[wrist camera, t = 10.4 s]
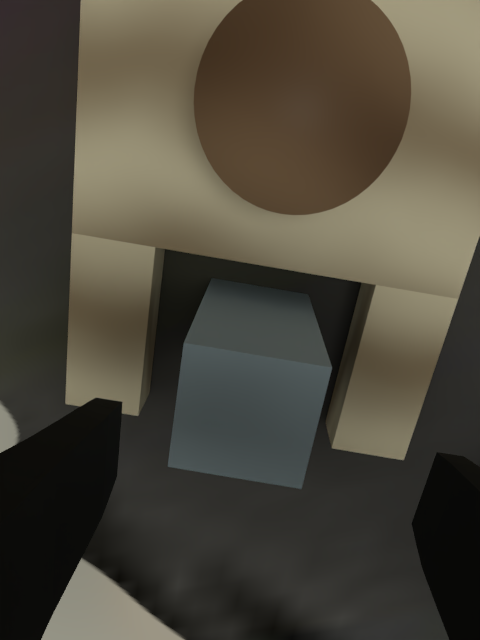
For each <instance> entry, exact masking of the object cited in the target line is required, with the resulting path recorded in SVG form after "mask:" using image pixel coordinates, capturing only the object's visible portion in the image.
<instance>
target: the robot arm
mask: <svg viewBox="0 0 480 640" xmlns="http://www.w3.org/2000/svg"><path fill="white" fill-rule="evenodd" d="M121 415H122V402H121V401H114V400H108V399H102V398H94V399H92V400H91V401H89V402H87V403H86V404H84V405H82V406H81V407H79V408H77V409H76V410H74V411H73V412H71V413H69V414H68V415H66V416H65V417H63V418H61V419H60V420H58V421H56V422H55V423H53V424H51V425H50V426H48V427H46V428H45V429H43V430H41V431H40V432H38V433H36V434H35V435H33V436H31V437H29V438H28V439H26V440H24V441H22V442H20V443H18V444H16V445H15V446H13V447H11V448H9V449H7V450H5V451H3V452H1V453H0V640H41V638H42V636H43V634H44V631H45V629H46V627H47V625H48V623H49V621H50V619H51V616H52V614H53V612H54V610H55V608H56V606H57V605H58V603H59V601H60V599H61V597H62V595H63V593H64V591H65V589H66V587H67V585H68V583H69V581H70V579H71V577H72V575H73V573H74V571H75V569H76V567H77V565H78V563H79V561H80V560H81V558H82V556H83V554H84V552H85V550H86V548H87V546H88V544H89V542H90V540H91V538H92V536H93V534H94V532H95V530H96V528H97V526H98V524H99V522H100V520H101V518H102V516H103V513H104V510H105V508H106V505H107V502H108V500H109V497H110V494H111V491H112V488H113V486H114V483H115V480H116V477H117V467H118V454H119V441H120V428H121ZM412 527H413V531H414V536H415V540H416V545H417V549H418V553H419V557H420V561H421V565H422V568H423V571H424V574H425V577H426V579H427V582H428V585H429V587H430V590H431V593H432V595H433V598H434V601H435V603H436V606H437V609H438V611H439V614H440V616H441V619H442V622H443V624H444V627H445V629H446V632H447V635H448V637H449V640H480V467H479V466H477V465H476V464H474V463H473V462H471V461H470V460H468V459H467V458H465V457H463V456H457V455H450V454H444V453H438V452H437V454H436V456H435V459H434V462H433V465H432V468H431V471H430V473H429V476H428V479H427V482H426V485H425V488H424V490H423V493H422V496H421V499H420V502H419V505H418V507H417V510H416V513H415V516H414V519H413V522H412Z"/></svg>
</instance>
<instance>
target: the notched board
mask: <svg viewBox="0 0 480 640" xmlns="http://www.w3.org/2000/svg"><path fill="white" fill-rule="evenodd" d="M479 236H480V0H81V11H80V37H79V63H78V89H77V115H76V141H75V167H74V193H73V219H72V244H71V270H70V296H69V322H68V348H67V374H66V400H65V404H69V405H75V406H82V405H84V404H86V403H87V402H89V401H91V400H92V399H94V398H102V399H108V400H114V401H121V402H122V413H123V414H129V415H135V416H139V413H140V411H141V409H142V407H143V405H144V403H145V401H146V399H147V397H148V395H149V393H150V385H151V375H152V366H153V357H154V348H155V338H156V329H157V320H158V311H159V301H160V292H161V283H162V274H163V264H164V255H165V249H168V250H174V251H180V252H186V253H191V254H197V255H203V256H209V257H215V258H221V259H227V260H233V261H238V262H244V263H250V264H256V265H262V266H268V267H274V268H280V269H285V270H291V271H297V272H303V273H309V274H315V275H321V276H327V277H332V278H338V279H344V280H350V281H356V282H362V283H361V287H360V291H359V295H358V298H357V302H356V306H355V310H354V314H353V318H352V321H351V325H350V329H349V333H348V337H347V341H346V345H345V348H344V352H343V356H342V360H341V364H340V368H339V371H338V375H337V379H336V383H335V387H334V391H333V395H332V398H331V402H330V406H329V410H328V414H327V418H326V421H325V422H326V427H327V431H328V435H329V439H330V444H331V448H333V449H339V450H345V451H351V452H357V453H363V454H369V455H375V456H381V457H387V458H393V459H399V460H404V458H405V455H406V452H407V449H408V446H409V443H410V440H411V437H412V434H413V431H414V428H415V425H416V423H417V420H418V417H419V414H420V411H421V408H422V405H423V402H424V399H425V396H426V393H427V390H428V387H429V384H430V381H431V378H432V375H433V372H434V369H435V366H436V363H437V360H438V357H439V354H440V351H441V348H442V346H443V343H444V340H445V337H446V334H447V331H448V328H449V325H450V322H451V319H452V316H453V313H454V310H455V307H456V304H457V301H458V298H459V295H460V292H461V289H462V286H463V283H464V280H465V277H466V274H467V271H468V269H469V266H470V263H471V260H472V257H473V254H474V251H475V248H476V245H477V242H478V239H479Z"/></svg>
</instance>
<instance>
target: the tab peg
mask: <svg viewBox="0 0 480 640" xmlns="http://www.w3.org/2000/svg"><path fill="white" fill-rule="evenodd" d="M331 371H332V366H331V363H330V360H329V356H328V353H327V350H326V347H325V344H324V341H323V338H322V335H321V332H320V329H319V326H318V323H317V320H316V317H315V314H314V311H313V307H312V304H311V301H310V298H309V295H308V294H303V293H298V292H292V291H286V290H280V289H274V288H268V287H262V286H256V285H250V284H244V283H238V282H233V281H227V280H221V279H215V278H211V281H210V283H209V285H208V288H207V290H206V292H205V295H204V297H203V299H202V302H201V304H200V306H199V309H198V311H197V313H196V316H195V318H194V320H193V322H192V325H191V327H190V329H189V332H188V334H187V336H186V339H185V341H184V345H183V352H182V360H181V368H180V375H179V383H178V391H177V398H176V406H175V414H174V422H173V429H172V437H171V445H170V452H169V460H168V467H172V468H178V469H184V470H190V471H196V472H202V473H208V474H214V475H220V476H226V477H232V478H238V479H244V480H250V481H256V482H262V483H268V484H274V485H280V486H286V487H293V488H299V489H302V485H303V481H304V477H305V473H306V469H307V465H308V461H309V457H310V453H311V449H312V446H313V442H314V438H315V434H316V430H317V426H318V422H319V418H320V414H321V410H322V406H323V402H324V398H325V394H326V390H327V386H328V382H329V378H330V374H331Z"/></svg>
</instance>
